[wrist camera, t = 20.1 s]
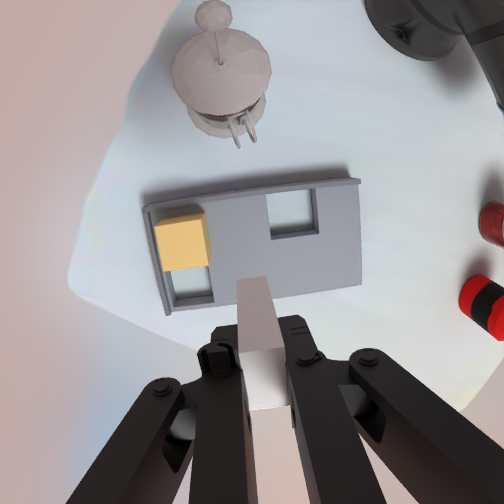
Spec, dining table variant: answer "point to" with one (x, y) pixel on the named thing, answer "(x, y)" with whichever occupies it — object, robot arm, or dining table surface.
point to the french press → (222, 75)
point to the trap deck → (267, 242)
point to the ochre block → (183, 242)
